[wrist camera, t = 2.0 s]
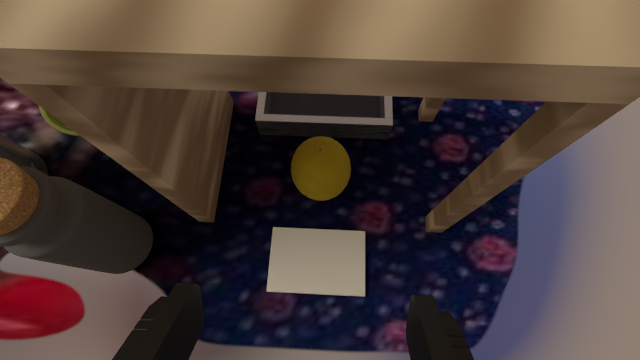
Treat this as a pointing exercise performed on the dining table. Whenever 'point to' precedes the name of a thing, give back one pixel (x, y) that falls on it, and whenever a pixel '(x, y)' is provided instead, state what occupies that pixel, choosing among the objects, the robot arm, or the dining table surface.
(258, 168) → the dining table surface
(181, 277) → the dining table surface
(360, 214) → the dining table surface
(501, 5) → the small wooden table
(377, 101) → the open rectangular box
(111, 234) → the bottle
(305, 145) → the lemon
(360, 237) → the pad
